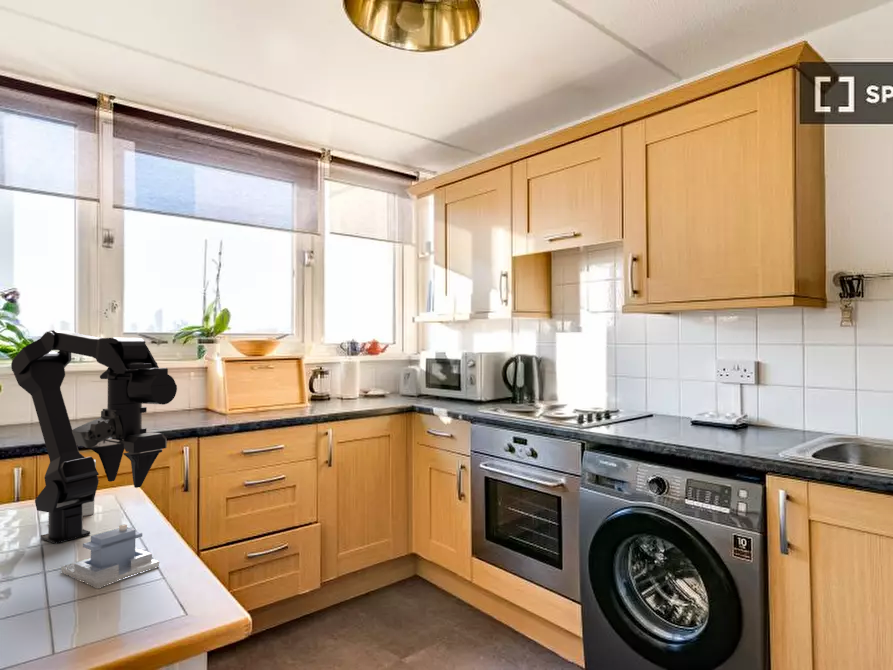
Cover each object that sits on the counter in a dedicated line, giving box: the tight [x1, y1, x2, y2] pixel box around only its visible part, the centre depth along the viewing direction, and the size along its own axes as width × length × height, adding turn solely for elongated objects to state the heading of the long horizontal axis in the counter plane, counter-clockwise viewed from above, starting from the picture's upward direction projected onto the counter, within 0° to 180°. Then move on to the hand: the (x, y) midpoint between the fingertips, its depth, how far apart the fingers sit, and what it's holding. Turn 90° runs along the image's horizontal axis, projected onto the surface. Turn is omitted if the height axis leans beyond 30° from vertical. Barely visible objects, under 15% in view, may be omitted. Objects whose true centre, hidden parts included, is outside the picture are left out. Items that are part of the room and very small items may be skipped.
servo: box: [82, 524, 143, 568], centre depth 94 cm, size 8×3×6 cm, turn 148°
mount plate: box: [60, 547, 160, 589], centre depth 95 cm, size 12×10×2 cm
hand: (124, 484), depth 105 cm, fingers open, 9 cm apart
